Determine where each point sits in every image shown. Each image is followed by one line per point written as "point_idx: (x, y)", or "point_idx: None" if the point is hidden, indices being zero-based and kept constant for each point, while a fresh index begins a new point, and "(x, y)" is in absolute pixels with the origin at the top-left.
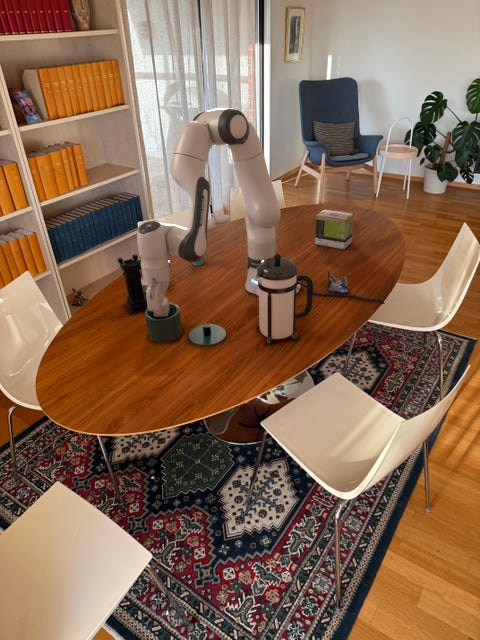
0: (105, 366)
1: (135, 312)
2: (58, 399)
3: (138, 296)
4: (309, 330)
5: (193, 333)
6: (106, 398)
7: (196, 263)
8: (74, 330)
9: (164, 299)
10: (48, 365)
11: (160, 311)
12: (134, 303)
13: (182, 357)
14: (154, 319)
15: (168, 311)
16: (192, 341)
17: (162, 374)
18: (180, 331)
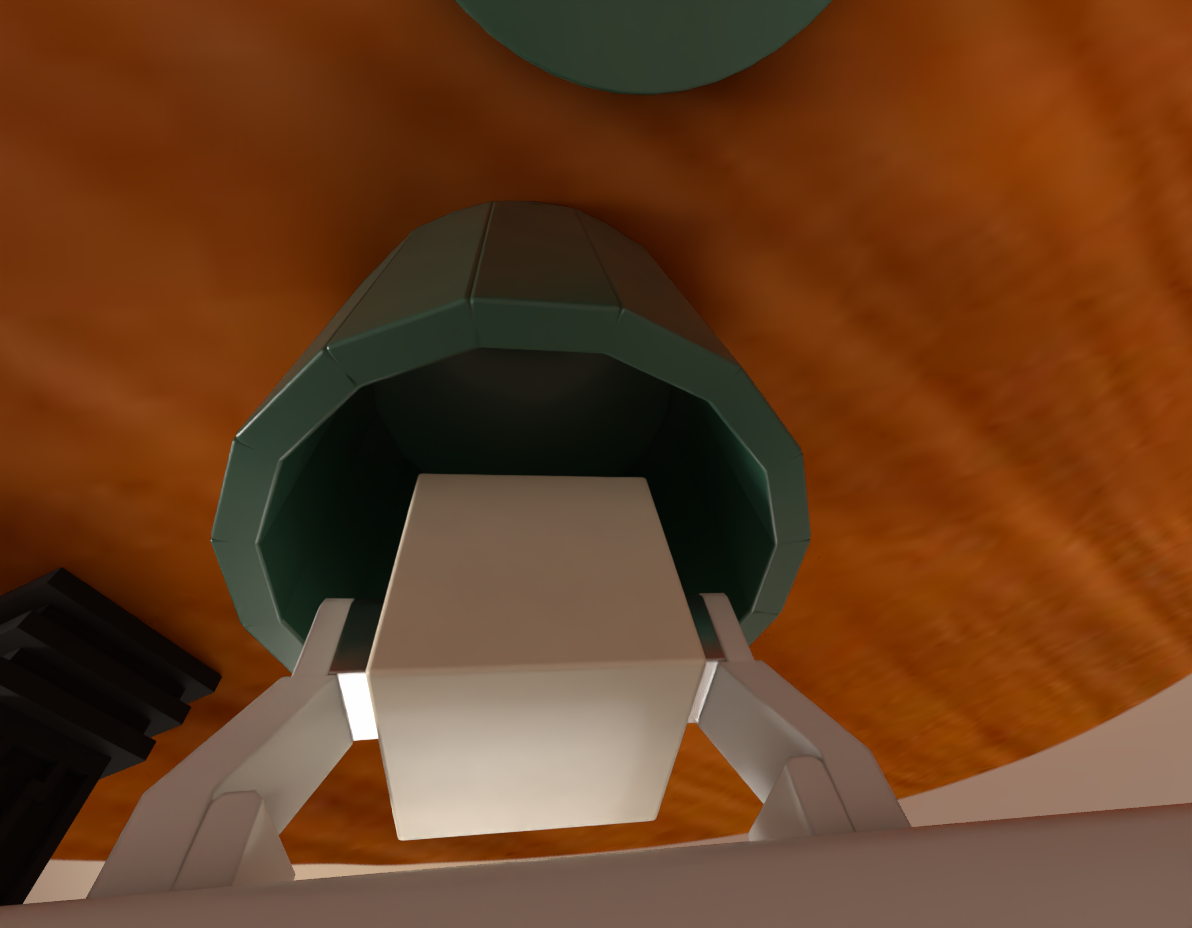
0: (841, 663)
1: (187, 662)
2: (1000, 743)
3: (3, 770)
4: None
5: (604, 12)
6: (1122, 600)
7: None
8: (462, 839)
9: (430, 724)
10: (745, 826)
11: (735, 646)
12: (117, 738)
13: (978, 166)
14: (754, 627)
15: (524, 489)
16: (800, 27)
17: (1116, 337)
18: (589, 222)
